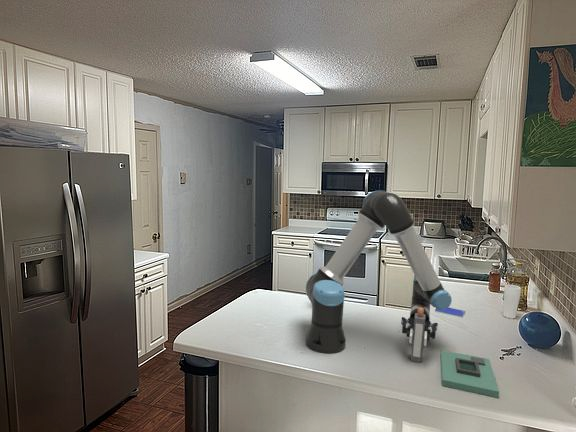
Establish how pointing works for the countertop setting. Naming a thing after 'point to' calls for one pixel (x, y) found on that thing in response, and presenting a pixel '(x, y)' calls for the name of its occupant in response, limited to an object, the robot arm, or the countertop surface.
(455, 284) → the countertop surface
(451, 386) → the board
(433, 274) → the robot arm
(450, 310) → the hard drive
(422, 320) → the plug
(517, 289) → the drinking glass
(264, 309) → the countertop surface
